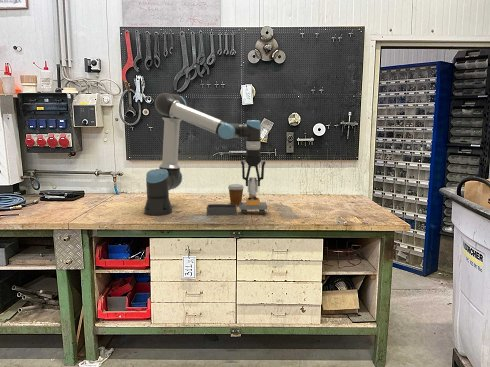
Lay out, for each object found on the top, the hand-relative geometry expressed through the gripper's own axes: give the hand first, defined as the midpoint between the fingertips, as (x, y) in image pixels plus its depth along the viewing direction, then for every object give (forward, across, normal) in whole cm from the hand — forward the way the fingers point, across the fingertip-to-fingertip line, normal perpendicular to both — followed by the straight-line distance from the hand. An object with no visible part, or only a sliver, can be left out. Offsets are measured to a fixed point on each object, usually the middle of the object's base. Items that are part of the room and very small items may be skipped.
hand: (252, 192), depth 205 cm
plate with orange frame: (+12, 0, 0) cm, 12 cm away
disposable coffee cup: (+12, -9, +20) cm, 25 cm away
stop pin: (+5, 0, 0) cm, 5 cm away
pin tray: (+12, -17, 0) cm, 21 cm away
